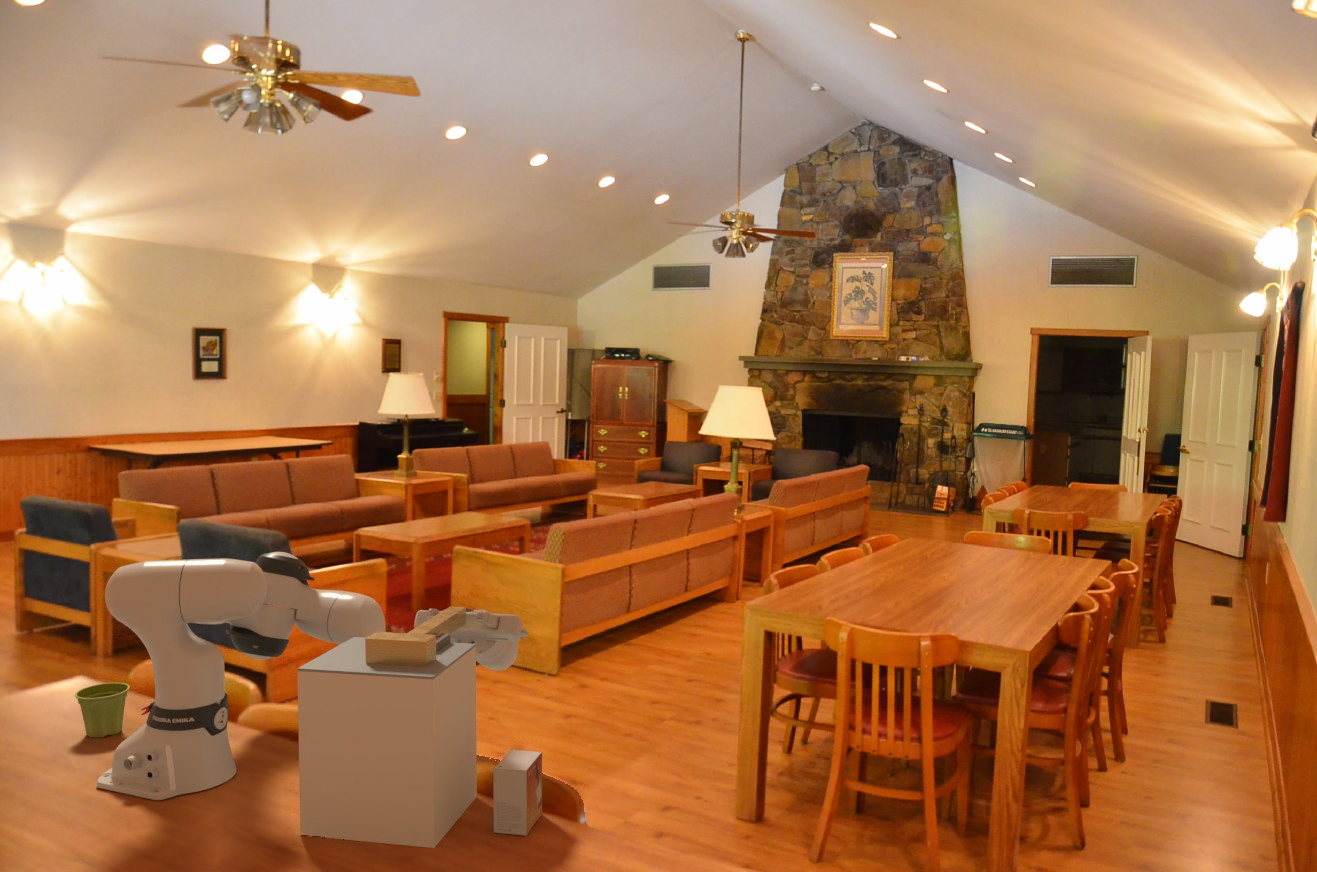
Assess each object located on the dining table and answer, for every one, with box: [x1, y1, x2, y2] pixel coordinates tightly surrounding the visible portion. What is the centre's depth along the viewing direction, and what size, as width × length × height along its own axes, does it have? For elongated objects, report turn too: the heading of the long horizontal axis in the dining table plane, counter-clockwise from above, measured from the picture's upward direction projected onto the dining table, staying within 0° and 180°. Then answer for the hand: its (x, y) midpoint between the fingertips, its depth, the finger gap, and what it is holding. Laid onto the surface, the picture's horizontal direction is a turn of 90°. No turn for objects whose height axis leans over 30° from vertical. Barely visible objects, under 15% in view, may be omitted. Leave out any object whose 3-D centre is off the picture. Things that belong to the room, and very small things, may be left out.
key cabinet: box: [296, 633, 478, 849], centre depth 154 cm, size 22×18×28 cm
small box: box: [492, 749, 543, 836], centre depth 152 cm, size 8×6×10 cm
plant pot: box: [74, 682, 131, 738], centre depth 190 cm, size 9×9×9 cm
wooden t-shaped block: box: [365, 605, 467, 667], centre depth 161 cm, size 10×26×4 cm, turn 170°
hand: (456, 614), depth 173 cm, fingers open, 8 cm apart
